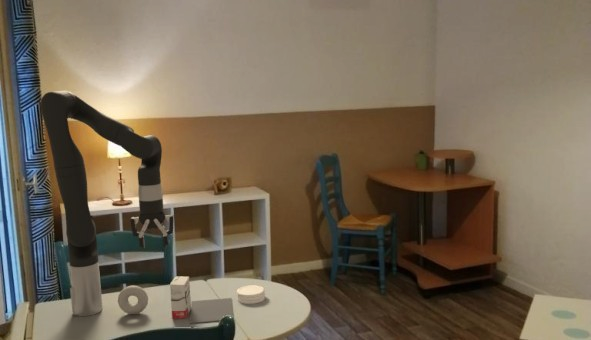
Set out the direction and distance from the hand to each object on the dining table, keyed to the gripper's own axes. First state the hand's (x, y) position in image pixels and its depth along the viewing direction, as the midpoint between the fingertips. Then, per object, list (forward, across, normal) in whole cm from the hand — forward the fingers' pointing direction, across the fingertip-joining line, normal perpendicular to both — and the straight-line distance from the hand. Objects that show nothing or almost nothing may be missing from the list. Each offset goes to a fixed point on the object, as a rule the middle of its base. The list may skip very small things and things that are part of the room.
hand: (154, 247), depth 185 cm
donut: (+24, -9, +3) cm, 26 cm away
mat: (+24, +17, 0) cm, 29 cm away
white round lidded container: (+24, +31, +8) cm, 41 cm away
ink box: (+24, +7, 0) cm, 25 cm away
